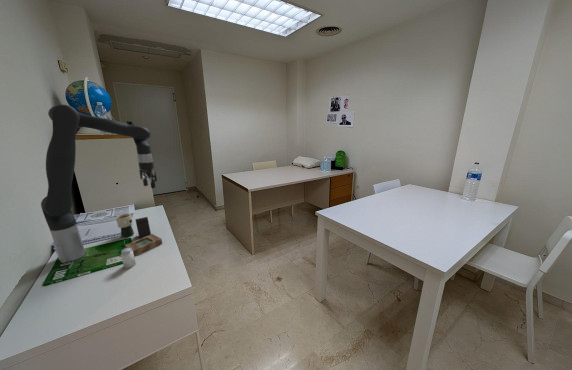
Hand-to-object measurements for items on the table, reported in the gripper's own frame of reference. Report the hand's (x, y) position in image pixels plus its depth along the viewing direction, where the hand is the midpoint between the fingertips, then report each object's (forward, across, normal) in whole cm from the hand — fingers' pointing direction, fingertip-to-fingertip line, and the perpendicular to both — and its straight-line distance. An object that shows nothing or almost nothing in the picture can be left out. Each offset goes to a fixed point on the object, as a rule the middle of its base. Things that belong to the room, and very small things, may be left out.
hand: (149, 186), depth 131 cm
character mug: (+28, -4, -15) cm, 32 cm away
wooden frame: (+28, +18, -16) cm, 37 cm away
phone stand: (+28, +6, -10) cm, 30 cm away
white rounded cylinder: (+28, +28, -28) cm, 49 cm away
